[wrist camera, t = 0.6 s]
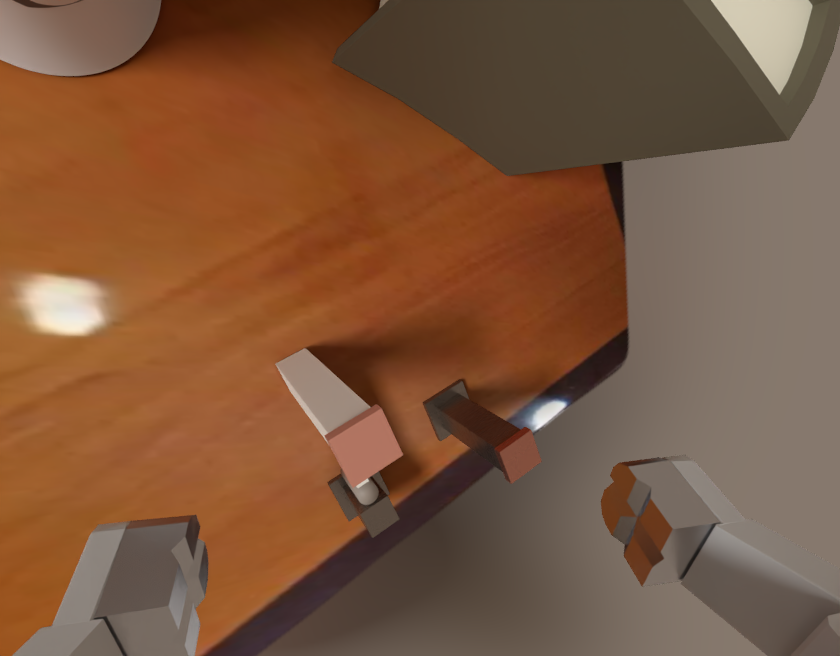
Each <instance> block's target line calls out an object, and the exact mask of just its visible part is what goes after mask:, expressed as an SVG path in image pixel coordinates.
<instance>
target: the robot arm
mask: <svg viewBox="0 0 840 656" xmlns="http://www.w3.org/2000/svg"><path fill="white" fill-rule="evenodd" d="M160 6H161V0H0V60H3V61H5V62H7V63H9V64H12V65H15V66H17V67H20V68H23V69H27V70H30V71H34V72H38V73H43V74H49V75H57V76H82V75H90V74H95V73H100V72H103V71H106V70H109V69H112V68H114V67H116V66H118V65H120V64H122V63H124V62H125V61H127V60H128V59H130V58H131V57H132V56H133V55H135V54H136V53H137V52H138V51H139V50H140V49H141V48H142V47H143V45H144V44H145V43H146V41H147V40H148V39H149V37H150V35H151V34H152V32H153V29H154V27H155V25H156V22H157V19H158V16H159V12H160ZM610 476H611V478H612V479H613V481H614V482H613V483H612V484H611V485H610V486H609V487H607V489H605V490H604V493H603V496H602V499H601V507H602V515H603V518H604V521H605V524H606V526H607V528H608V529H609V531H610V533H611V535H612V536H613V537H615V538H616V539H618V540H619V541H620V542H622V543H623V544H625V547H624V557H625V559H626V560H627V562H628V564H629V565H630V567H631V569H632V570H633V572H634V574H635V575H636V577H637V579H638V581H639V582H640V584H641V586H642V587H644V586H651V585H658V584H665V583H672V582H679V581H682V582H681V584H682V585H683V586H684V587H685V588H686V589H688V590H689V591H690V592H691V593H692V594H694V595H695V596H696V597H697V598H698V599H700V600H701V601H702V602H703V603H704V604H706V605H707V606H708V607H709V608H710V609H712V610H713V611H714V612H715V613H717V614H718V615H719V616H720V617H721V618H723V619H724V620H725V621H726V622H727V623H729V624H730V625H731V626H732V627H734V628H735V629H736V630H737V631H738V632H739V633H741V634H742V635H743V636H744V637H745V638H747V639H748V640H749V641H750V642H751V643H753V644H754V645H755V646H756V647H758V648H759V649H760V650H761V651H762V652H764V653H765V654H766V655H767V656H840V568H838V567H836V566H834V565H833V564H831V563H829V562H827V561H826V560H824V559H822V558H820V557H819V556H817V555H815V554H813V553H812V552H810V551H808V550H806V549H804V548H803V547H801V546H799V545H797V544H796V543H794V542H792V541H790V540H789V539H787V538H785V537H783V536H781V535H780V534H778V533H776V532H774V531H773V530H771V529H769V528H767V527H766V526H764V525H762V524H760V523H758V522H757V521H755V520H753V519H747V520H745V519H744V517H743V516H742V515H741V514H740V513H739V512H738V511H737V509H736V508H735V507H734V506H733V505H732V504H731V503H730V501H729V500H728V499H727V498H726V497H725V496H724V495H723V493H722V492H721V491H720V490H719V489H718V488H717V486H716V485H715V484H714V483H713V482H712V481H711V480H710V478H709V477H708V476H707V475H706V474H705V473H704V472H703V470H702V469H701V468H700V467H699V466H698V465H697V464H696V462H695V461H694V460H693V459H691V458H690V457H688V456H686V455H679V456H671V457H664V458H659V457H658V458H651V459H644V460H637V461H629V462H622V463H618V464H617V465H616V466H615V467H613V470H612V472H611V475H610ZM199 530H200V525H199V522H198V519H197V516H196V515H190V516H179V517H169V518H158V519H147V520H137V521H127V522H118V523H109V524H100V525H98V526H97V527H96V528H95V530H94V531H93V532H92V533H91V534H90V536H89V539H88V541H87V543H86V546H85V548H84V551H83V553H82V555H81V558H80V560H79V562H78V565H77V567H76V570H75V572H74V574H73V577H72V579H71V581H70V584H69V586H68V589H67V591H66V593H65V596H64V598H63V600H62V603H61V605H60V608H59V610H58V612H57V615H56V617H55V620H54V622H53V624H52V626H49V627H43V628H40V629H39V630H38V631H37V632H36V633H35V634H34V635H33V636H32V637H31V638H30V639H29V640H28V641H27V642H26V643H25V644H24V645H23V646H22V647H21V648H20V649H19V650H17V651H16V652H15V653H14V654H13V655H12V656H195V650H196V644H197V639H198V633H199V628H200V622H199V619H198V616H197V613H196V608H197V606H198V605H199V604H200V603H201V601H202V600H203V599H204V598H205V593H206V587H207V581H208V555H207V549H206V545H205V542H203V541H202V540H200V539H198V535H199Z"/></svg>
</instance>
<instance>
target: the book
mask: <svg viewBox="0 0 840 656" xmlns="http://www.w3.org/2000/svg"><path fill="white" fill-rule="evenodd" d="M839 26H840V0H381V1H380V7H379V10H378V11H377V12H376V13H375V14H373V15H372V16H371V17H370V18H369V19H368V20H367V21H366V22H365V23H364V24H363V25H362V26H361V27H360V28H359V29H358V30H357V31H355V32H354V33H353V34H352V35H351V36H350V37H349V38H348V39H347V40H346V41H345V42H344V43H343V44H342V45H341V46H340V47H339V48H338V49H337V51H336V54H335V56H334V59H333V61H332V63H334V64H336V65H338V66H340V67H342V68H343V69H345V70H347V71H349V72H351V73H352V74H354V75H356V76H358V77H360V78H362V79H363V80H365V81H367V82H369V83H371V84H372V85H374V86H376V87H378V88H380V89H382V90H383V91H385V92H387V93H389V94H391V95H392V96H394V97H396V98H398V99H399V100H401V101H402V102H404V103H405V104H407V105H408V106H410V107H411V108H413V109H414V110H416V111H417V112H419V113H420V114H422V115H423V116H425V117H426V118H428V119H429V120H431V121H432V122H433V123H435V124H436V125H438V126H439V127H441V128H442V129H444V130H445V131H447V132H448V133H450V134H451V135H453V136H454V137H456V138H457V139H459V140H460V141H461V142H463V143H464V144H465V145H467V146H468V147H469V148H471V149H472V150H473V151H475V152H476V153H477V154H479V155H480V156H481V157H483V158H484V159H485V160H487V161H488V162H489V163H491V164H492V165H493V166H495V167H496V168H497V169H499V170H500V171H501V172H503V173H504V174H505V175H507V176H510V175H518V174H526V173H534V172H542V171H550V170H558V169H566V168H573V167H581V166H589V165H597V164H605V163H613V162H621V161H629V160H637V159H645V158H653V157H660V156H668V155H676V154H684V153H692V152H699V151H707V150H716V149H724V148H732V147H739V146H747V145H755V144H763V143H770V142H779V141H786V140H789V139H790V138H791V136H792V134H793V133H794V131H795V129H796V128H797V126H798V124H799V123H800V121H801V119H802V118H803V116H804V114H805V113H806V111H807V109H808V108H809V106H810V104H811V103H812V101H813V99H814V97H815V95H816V92H817V89H818V87H819V85H820V82H821V80H822V77H823V75H824V72H825V70H826V67H827V65H828V62H829V60H830V57H831V55H832V52H833V49H834V45H835V42H836V38H837V34H838V30H839Z"/></svg>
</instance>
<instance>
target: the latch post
mask: <svg viewBox="0 0 840 656" xmlns="http://www.w3.org/2000/svg"><path fill="white" fill-rule="evenodd" d="M423 405H424V407H425V410H426V412H427V414H428V417H429V419H430V422H431V424H432V426H433V429H434V431H435V433H436V436H437V438H438V440H440V441H442V440H443V439H445V438H446V437H448V436H449V435H451V434H452V435H453V436H455V437H456V438H457V439H459V440H460V441H462V442H463V443H464V444H466V445H467V446H468V447H470V448H471V449H472V450H474V451H475V452H476V453H478V454H479V455H480V456H482V457H483V458H484V459H486V460H487V461H489V462H490V463H491V464H493V465H494V466H495V467H497V468H498V469H499V470H501V471H502V472H503V474H504V476H505V479H506V480H507V481H508V482H509V483H511V484H512V483H513V482H515V481H516V480H517V479H518V478H520V477H521V476H523V475H524V474H525V473H527V472H528V471H529V470H531V469H532V468H534V467H535V466H536V465H538V464H539V463H540V462H541V458H540V455H539V452H538V450H537V447H536V443H535V440H534V437H533V434H532V431H531V430H530V429H528V428H527V427H524V428H523V429H519V428H517V427H515V426H514V425H512V424H510V423H509V422H507V421H505V420H503V419H502V418H500V417H498V416H497V415H495V414H493V413H491V412H490V411H488V410H486V409H484V408H483V407H481V406H479V405H478V404H476V403H474V402H472V401H471V400H469V397H468V394H467V392H466V389H465V387H464V384H463V381H461V380H458V381H456V382H455V383H453V384H452V385H450V386H448V387H447V388H445V389H444V390H442V391H440V392H439V393H437V394H436V395H434V396H432V397H431V398H429V399H428V400H426V401H424V402H423Z"/></svg>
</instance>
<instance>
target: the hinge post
mask: <svg viewBox="0 0 840 656" xmlns="http://www.w3.org/2000/svg"><path fill="white" fill-rule="evenodd" d="M369 478H370V479H371V480H372V481H373V483H374V484H375V485H376V486H377V488H378V490H379V495H378V497H377V499H376V500H375V501H374V502H373V503H371V504H369V505H363V504H361V503H360V502H359V500H358V499H357V497H356V496H355V494H354V493H353V491H352V490H351V488H350V487H349V485H348V484H347V483H346V481H345V480H344V478H343V477H342V475H341V474H340V475H338V476H337V477H335V478H334V479H332V480H330V481H329V482H327V483H328V485H329V486H330V488H331V490H332V492H333V494H334V495H335V497H336V499H337V501H338V503H339V504H340V506H341V508H342V510H343V512H344V514H345V515H346V517H347V519H348V521H351V520H352V519H354V518H355V517H356V516H359V518H360V519H361V521H362V523H363V524H364V526H365V527H366V529H367V530H368V532H369V533H370V535H371V536H372V538H373V537H375V536H376V535H378V534H379V533H380V532H382V531H383V530H385V529H386V528H387V527H389V526H390V525H392V524H393V523H395V522H396V521H397V520H399V517H398V515H397V513H396V511H395V509H394V507H393V505H392V503H391V501H390V499H389V497H388V495H389V494H390V493H389V491H388V489H387V487H386V485H385V483H384V481H383V479H382V477H381V475H380V473H379V471H378V472H377V473H375V474H374V475H372V476H371V477H369Z"/></svg>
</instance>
